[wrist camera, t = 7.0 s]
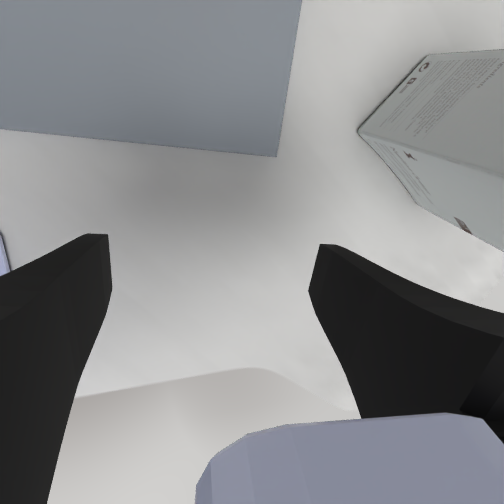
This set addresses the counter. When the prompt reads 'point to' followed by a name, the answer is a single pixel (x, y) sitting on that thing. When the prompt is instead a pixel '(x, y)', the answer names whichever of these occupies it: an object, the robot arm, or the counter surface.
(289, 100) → the counter surface
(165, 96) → the grey square plate
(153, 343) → the counter surface
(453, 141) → the skincare box
